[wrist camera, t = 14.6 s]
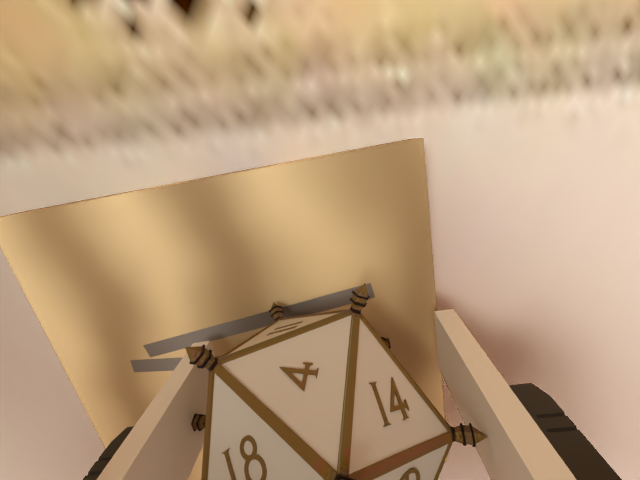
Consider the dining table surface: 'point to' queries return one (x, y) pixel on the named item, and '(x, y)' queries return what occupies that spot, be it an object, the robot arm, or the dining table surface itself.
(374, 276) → the board
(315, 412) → the game die
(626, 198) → the dining table surface
